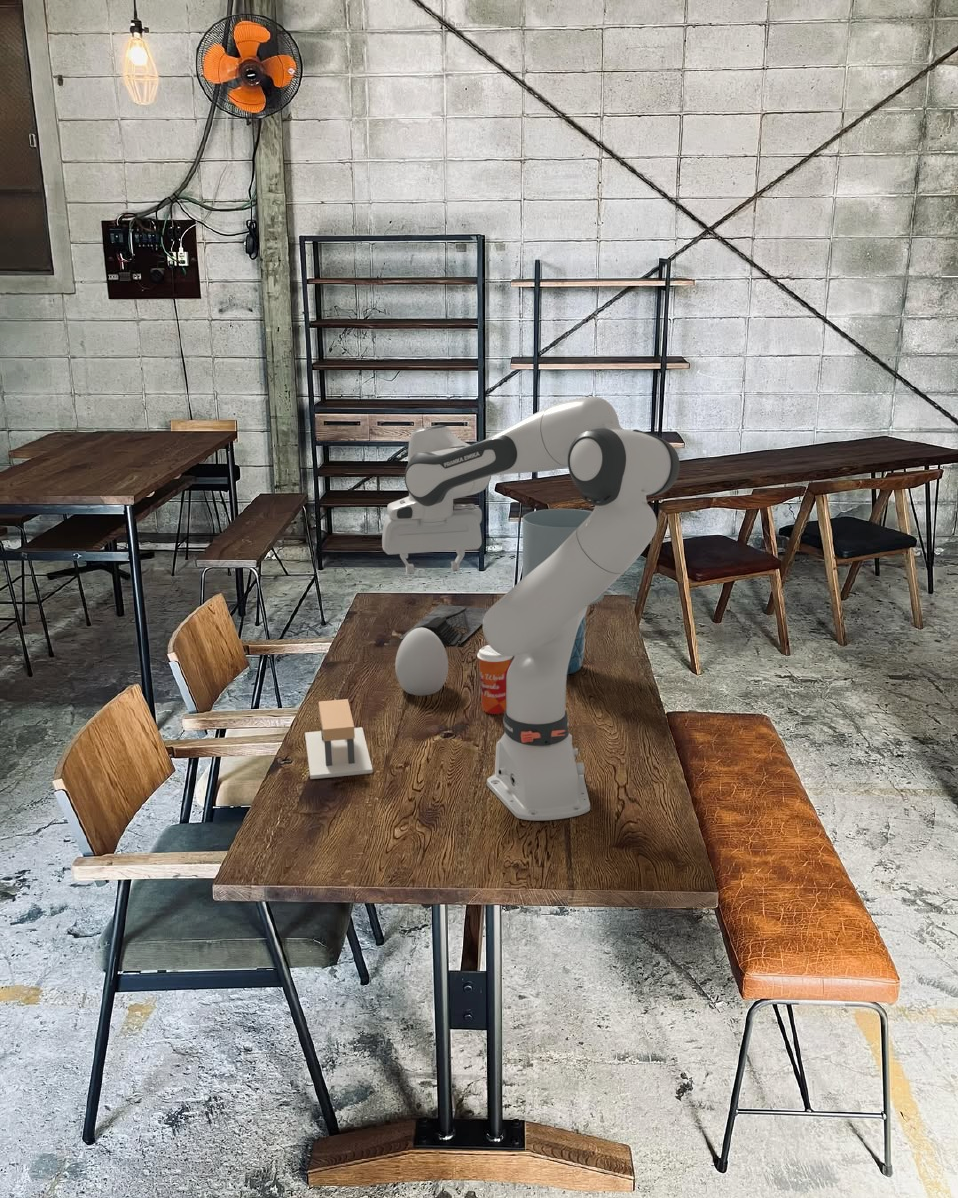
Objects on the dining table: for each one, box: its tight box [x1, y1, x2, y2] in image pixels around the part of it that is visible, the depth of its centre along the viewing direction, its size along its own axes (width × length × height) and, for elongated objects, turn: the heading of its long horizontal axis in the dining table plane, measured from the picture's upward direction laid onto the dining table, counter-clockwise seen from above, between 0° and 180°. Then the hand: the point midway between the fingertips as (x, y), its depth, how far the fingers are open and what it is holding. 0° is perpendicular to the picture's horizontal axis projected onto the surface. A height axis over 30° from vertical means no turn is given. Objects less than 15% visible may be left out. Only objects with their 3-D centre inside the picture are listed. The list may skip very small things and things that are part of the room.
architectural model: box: [399, 604, 490, 647], centre depth 288 cm, size 17×6×30 cm
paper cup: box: [476, 644, 514, 715], centre depth 233 cm, size 8×8×14 cm
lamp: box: [521, 508, 605, 675], centre depth 252 cm, size 19×19×38 cm
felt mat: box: [304, 726, 374, 780], centre depth 214 cm, size 20×12×1 cm, turn 12°
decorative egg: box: [394, 627, 449, 697], centre depth 244 cm, size 12×12×15 cm
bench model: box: [318, 698, 355, 766], centre depth 213 cm, size 14×6×8 cm, turn 12°
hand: (432, 572), depth 217 cm, fingers open, 8 cm apart
